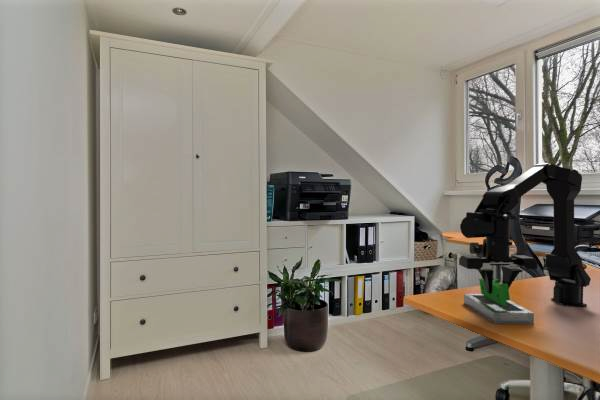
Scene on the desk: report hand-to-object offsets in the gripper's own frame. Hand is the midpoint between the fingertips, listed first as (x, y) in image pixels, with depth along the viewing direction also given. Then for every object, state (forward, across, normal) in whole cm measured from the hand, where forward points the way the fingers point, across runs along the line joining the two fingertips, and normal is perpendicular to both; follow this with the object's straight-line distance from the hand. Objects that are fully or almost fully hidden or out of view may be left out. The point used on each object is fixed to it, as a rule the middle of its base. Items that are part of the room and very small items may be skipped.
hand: (496, 293), depth 101 cm
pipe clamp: (+2, 0, 0) cm, 2 cm away
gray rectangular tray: (+5, 0, 0) cm, 5 cm away
